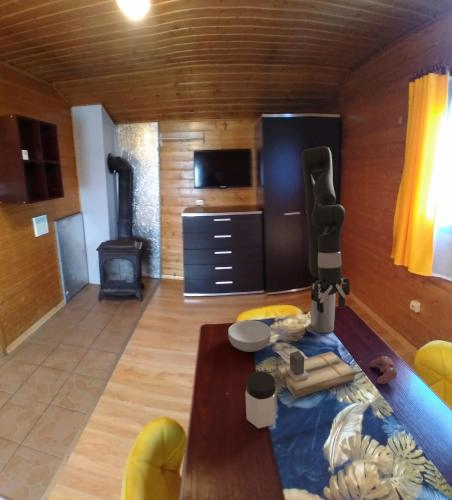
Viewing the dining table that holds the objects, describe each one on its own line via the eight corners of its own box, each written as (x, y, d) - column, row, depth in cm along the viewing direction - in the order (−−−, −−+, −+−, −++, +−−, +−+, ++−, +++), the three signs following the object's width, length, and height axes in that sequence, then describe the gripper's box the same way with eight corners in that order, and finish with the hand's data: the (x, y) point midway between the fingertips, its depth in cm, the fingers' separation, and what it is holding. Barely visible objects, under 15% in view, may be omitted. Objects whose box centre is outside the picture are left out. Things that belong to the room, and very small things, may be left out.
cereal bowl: (280, 348, 118) (280, 331, 116) (246, 364, 109) (245, 347, 107) (252, 330, 132) (252, 315, 130) (220, 343, 123) (219, 328, 121)
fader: (285, 369, 100) (285, 351, 99) (298, 366, 102) (298, 348, 100) (294, 381, 95) (295, 362, 93) (308, 377, 96) (309, 358, 95)
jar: (250, 431, 82) (249, 394, 79) (242, 408, 90) (241, 374, 86) (281, 423, 84) (281, 387, 81) (271, 402, 91) (270, 368, 88)
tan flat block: (277, 373, 104) (277, 366, 103) (331, 358, 110) (331, 350, 109) (295, 398, 93) (295, 389, 92) (354, 379, 99) (355, 371, 98)
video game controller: (389, 390, 96) (402, 374, 94) (376, 383, 96) (388, 367, 94) (380, 369, 105) (392, 355, 103) (368, 363, 106) (379, 349, 103)
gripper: (339, 259, 108) (340, 302, 111) (305, 265, 104) (307, 310, 107) (354, 263, 101) (355, 309, 104) (318, 269, 97) (320, 317, 100)
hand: (331, 309), depth 105 cm, fingers open, 8 cm apart
